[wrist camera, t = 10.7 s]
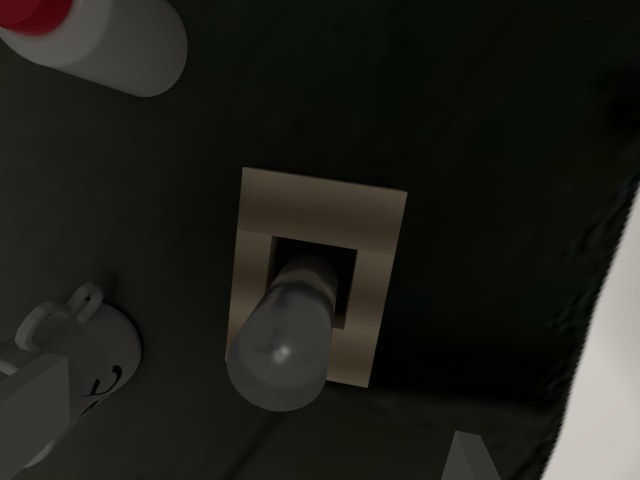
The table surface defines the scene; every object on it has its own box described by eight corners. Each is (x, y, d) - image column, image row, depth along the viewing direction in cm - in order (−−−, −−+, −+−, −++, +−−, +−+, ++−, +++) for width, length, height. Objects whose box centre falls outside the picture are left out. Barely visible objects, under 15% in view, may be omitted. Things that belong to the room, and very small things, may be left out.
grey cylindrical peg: (289, 241, 28) (231, 311, 14) (343, 250, 28) (334, 329, 14) (283, 291, 29) (222, 400, 16) (334, 300, 29) (319, 419, 15)
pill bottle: (116, -33, 25) (-63, -185, 14) (204, 23, 25) (95, -85, 14) (80, 65, 27) (-103, -5, 16) (163, 116, 27) (39, 81, 16)
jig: (254, 167, 27) (242, 167, 24) (401, 189, 26) (407, 192, 23) (237, 342, 31) (225, 360, 28) (365, 366, 30) (367, 387, 27)
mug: (133, 396, 33) (42, 491, 23) (49, 361, 33) (-77, 442, 23) (165, 289, 30) (77, 346, 20) (73, 251, 30) (-59, 290, 20)
